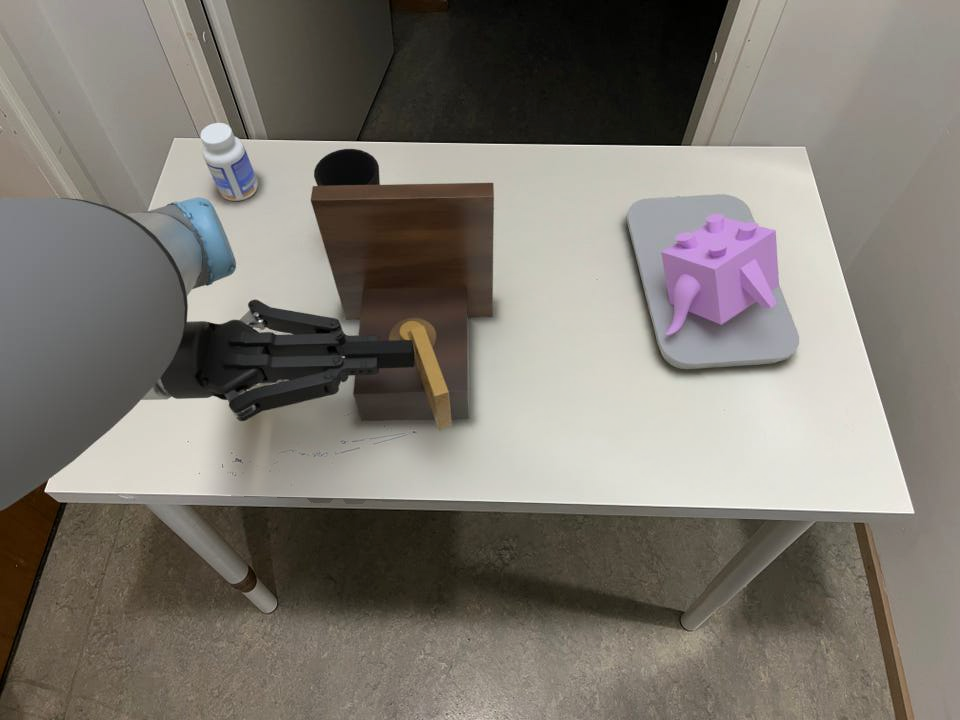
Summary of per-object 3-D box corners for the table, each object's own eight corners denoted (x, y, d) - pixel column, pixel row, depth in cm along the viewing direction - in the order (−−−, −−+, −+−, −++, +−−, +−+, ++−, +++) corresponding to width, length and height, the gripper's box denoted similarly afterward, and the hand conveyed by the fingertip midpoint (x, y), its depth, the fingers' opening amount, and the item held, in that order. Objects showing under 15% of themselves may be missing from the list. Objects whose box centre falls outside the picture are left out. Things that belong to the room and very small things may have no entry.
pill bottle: (255, 171, 98) (234, 114, 90) (261, 197, 95) (240, 140, 87) (217, 180, 97) (192, 123, 89) (222, 206, 94) (196, 150, 86)
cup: (333, 220, 93) (314, 150, 82) (389, 216, 93) (377, 145, 83) (332, 264, 88) (313, 196, 78) (391, 259, 89) (379, 190, 79)
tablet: (738, 205, 93) (743, 192, 91) (799, 366, 79) (807, 356, 77) (620, 212, 93) (623, 199, 91) (661, 375, 79) (665, 365, 77)
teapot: (830, 208, 72) (830, 286, 77) (731, 188, 82) (738, 258, 88) (707, 288, 67) (717, 366, 72) (618, 256, 77) (633, 326, 82)
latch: (457, 424, 69) (455, 390, 63) (433, 432, 68) (428, 398, 62) (420, 323, 76) (414, 283, 70) (397, 329, 75) (390, 289, 69)
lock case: (495, 418, 76) (498, 312, 59) (335, 421, 76) (291, 316, 59) (492, 303, 85) (493, 182, 68) (347, 306, 85) (312, 185, 68)
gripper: (139, 400, 60) (407, 392, 60) (170, 284, 67) (411, 277, 67) (172, 437, 66) (415, 430, 67) (198, 327, 73) (417, 321, 74)
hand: (413, 353), depth 67 cm, fingers closed
